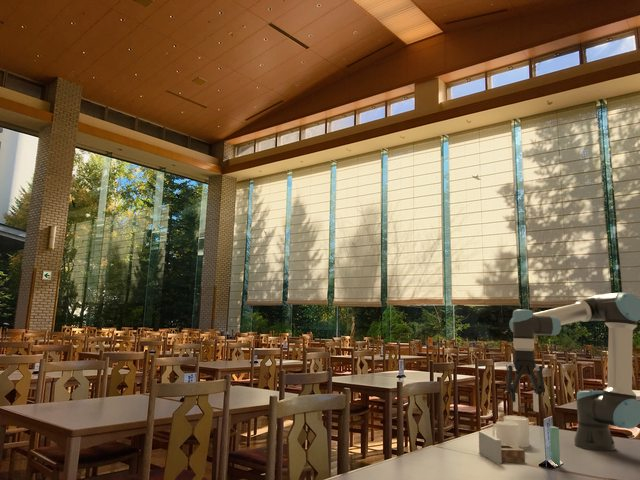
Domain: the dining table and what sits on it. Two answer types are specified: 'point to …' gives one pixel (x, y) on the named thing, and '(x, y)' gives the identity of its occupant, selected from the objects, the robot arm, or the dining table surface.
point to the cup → (506, 432)
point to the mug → (520, 429)
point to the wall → (490, 447)
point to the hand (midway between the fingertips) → (525, 411)
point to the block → (512, 453)
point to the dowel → (555, 445)
